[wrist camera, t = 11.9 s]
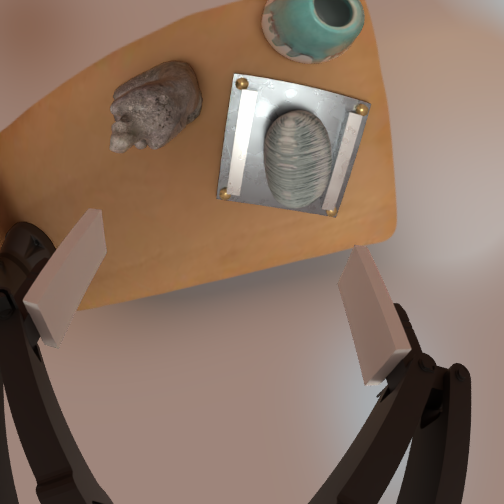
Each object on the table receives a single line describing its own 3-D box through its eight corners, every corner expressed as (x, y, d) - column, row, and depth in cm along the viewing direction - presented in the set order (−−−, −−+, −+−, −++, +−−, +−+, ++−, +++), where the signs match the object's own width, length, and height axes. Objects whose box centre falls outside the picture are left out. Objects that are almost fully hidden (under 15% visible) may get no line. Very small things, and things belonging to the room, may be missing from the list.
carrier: (217, 195, 49) (215, 204, 46) (234, 73, 37) (233, 74, 34) (334, 213, 51) (338, 223, 48) (368, 102, 39) (375, 106, 36)
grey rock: (332, 207, 45) (315, 221, 36) (275, 195, 48) (246, 207, 40) (343, 118, 39) (328, 109, 31) (283, 111, 43) (254, 104, 35)
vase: (336, -11, 28) (384, -42, 14) (347, 61, 35) (403, 69, 21) (253, -5, 29) (253, -44, 15) (267, 67, 36) (277, 73, 22)
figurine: (113, 115, 40) (48, 154, 25) (136, 45, 33) (71, 48, 19) (188, 141, 43) (154, 193, 29) (218, 72, 37) (195, 82, 22)
